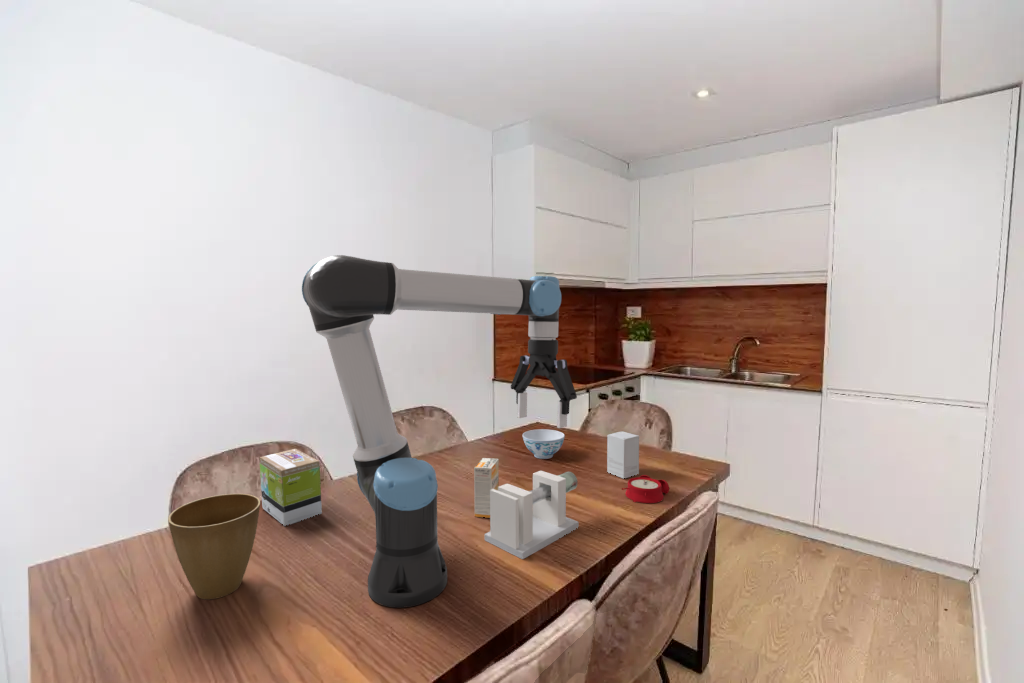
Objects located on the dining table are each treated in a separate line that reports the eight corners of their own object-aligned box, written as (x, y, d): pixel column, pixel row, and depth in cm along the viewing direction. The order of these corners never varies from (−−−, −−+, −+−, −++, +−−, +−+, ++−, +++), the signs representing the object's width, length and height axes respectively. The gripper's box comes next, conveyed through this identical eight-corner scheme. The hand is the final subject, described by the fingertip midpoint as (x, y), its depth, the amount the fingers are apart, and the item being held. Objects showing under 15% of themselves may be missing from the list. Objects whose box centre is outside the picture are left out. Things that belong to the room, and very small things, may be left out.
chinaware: (566, 462, 164) (566, 440, 163) (522, 462, 164) (522, 440, 163) (562, 449, 179) (562, 429, 178) (522, 449, 179) (522, 429, 178)
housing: (541, 512, 125) (541, 466, 124) (578, 527, 117) (578, 477, 116) (484, 540, 111) (484, 487, 110) (522, 559, 102) (522, 502, 101)
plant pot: (163, 622, 83) (158, 532, 81) (183, 577, 96) (178, 500, 95) (260, 600, 89) (256, 517, 87) (266, 561, 102) (262, 488, 101)
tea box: (260, 509, 128) (258, 455, 126) (298, 498, 135) (296, 447, 134) (283, 527, 117) (281, 469, 116) (323, 514, 125) (321, 459, 124)
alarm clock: (616, 485, 134) (642, 461, 144) (618, 505, 136) (644, 479, 146) (650, 495, 127) (675, 469, 137) (652, 516, 128) (677, 489, 139)
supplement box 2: (639, 474, 152) (640, 435, 151) (623, 479, 148) (624, 439, 147) (622, 467, 159) (622, 430, 158) (606, 472, 154) (606, 434, 153)
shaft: (563, 486, 125) (563, 469, 125) (577, 491, 122) (577, 474, 121) (500, 515, 109) (500, 495, 108) (514, 521, 105) (514, 501, 105)
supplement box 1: (492, 518, 122) (491, 468, 121) (474, 517, 123) (473, 467, 122) (499, 505, 130) (499, 458, 129) (482, 504, 131) (481, 457, 130)
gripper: (592, 341, 114) (590, 429, 115) (518, 335, 131) (516, 411, 133) (573, 342, 108) (570, 434, 110) (498, 336, 126) (497, 415, 128)
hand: (541, 422), depth 121 cm, fingers open, 13 cm apart
